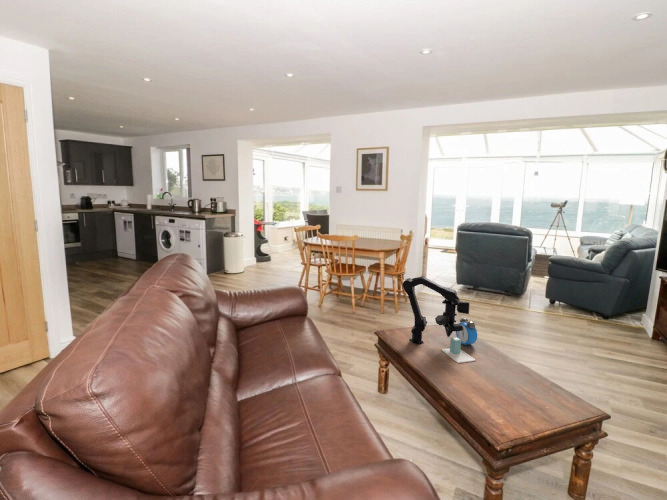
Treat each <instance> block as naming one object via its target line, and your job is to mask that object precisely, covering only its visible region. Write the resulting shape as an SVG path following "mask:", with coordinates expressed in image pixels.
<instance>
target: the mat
mask: <svg viewBox="0 0 667 500" xmlns="http://www.w3.org/2000/svg"><path fill="white" fill-rule="evenodd" d="M441 351H442V352H443V353H444V354H445V355H446V356H448V357H449V358H450V359H452V360H453V361H454V362H456V363H457V364H462V363H463V364H464V363H470V362H476V359H475V358H474V357H472V356H471V355H469V353H467V352H465V351H464V350H463V349H460V353H458V354H453V353H452V352H451V351H450V347H449V348H441Z"/></svg>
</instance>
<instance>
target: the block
mask: <svg viewBox="0 0 667 500" xmlns="http://www.w3.org/2000/svg"><path fill="white" fill-rule="evenodd" d="M461 345H462V344H461V339H459V338H458V337H457V336H454V337H451V338H450V346H449V348H450V351H451V352H452V353H453V354H458V353H460V349H461ZM461 350H462V349H461Z"/></svg>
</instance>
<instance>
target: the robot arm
mask: <svg viewBox="0 0 667 500" xmlns="http://www.w3.org/2000/svg"><path fill="white" fill-rule="evenodd" d="M419 285H422V286H424V287H427V288H428V289H429V290H432V291H434V292H436V293H438V294H440V295H441V296H442V297H443V298H444V300H442V302H441V304H445V307H444V308H445V309H444V311H443V312H442V314H439V315H437V316H436V317H434V320H435V323H436V324H437V325H438V326H443V327H444V330H445V333H446V337H447V338H450V336H451V335H452V334H453V332H456V331H463V326H461V325H460V324H458V323H457V320H456V316H458V315H457V313H459V314H463V315H470V301H462V300H461V299H460V298H459V296H458V292H457V291H456V290H455V289H452V288H450V287H446V286H443V285H440V284H438V283H437V282H435V281H433V280H431V279H429V278H427V277H425V276H424V275H421V276H418V277H413V278H410V277H408V278H406V279H404V281H403V282H402V288H403V290H404V292H405V294H406V295H407V296H408V300H409V304H410V306H411V310H412V313H413V316H414V325H413V327H412V328H411V329H410V331H411V338H408V339H409V341H410V342H411V343H412V344H414V345H416V344H424V341H423V332H424V331H425V329H426V327H427V324H428V321H427V319H426V316H423V315H422V313H421V310H420V306H419V302H418V299H417V295H416V291H415V289H416V287H417V286H419ZM456 311H457V313H456Z"/></svg>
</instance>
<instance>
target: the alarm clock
mask: <svg viewBox="0 0 667 500" xmlns="http://www.w3.org/2000/svg"><path fill="white" fill-rule="evenodd" d="M457 324H460V325H461V326H463V331H455V337H458V338H459V339H461V345H463V346H464V345H465V346H467V345H472V344H475V343H476V341H478V330H477V327H476V324H475V323H474V321H469V319H468V318H465V317H463V318H460V319H459V322H458V323H457Z"/></svg>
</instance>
